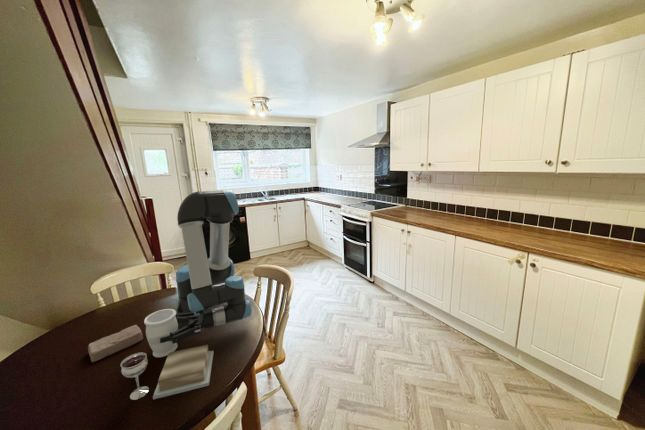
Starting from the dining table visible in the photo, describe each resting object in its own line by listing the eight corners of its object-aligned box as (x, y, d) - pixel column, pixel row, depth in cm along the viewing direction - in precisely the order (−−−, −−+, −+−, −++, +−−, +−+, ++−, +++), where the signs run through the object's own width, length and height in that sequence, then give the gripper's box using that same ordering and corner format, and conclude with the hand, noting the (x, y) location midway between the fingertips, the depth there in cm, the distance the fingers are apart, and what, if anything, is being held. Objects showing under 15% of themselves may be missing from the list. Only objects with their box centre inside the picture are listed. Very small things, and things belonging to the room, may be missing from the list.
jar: (170, 338, 107) (165, 306, 105) (186, 345, 103) (181, 311, 100) (143, 355, 98) (137, 320, 95) (160, 363, 93) (154, 327, 91)
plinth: (170, 362, 93) (169, 352, 92) (208, 354, 96) (207, 344, 96) (159, 391, 80) (158, 380, 80) (204, 380, 84) (203, 370, 84)
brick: (92, 363, 94) (90, 352, 93) (88, 353, 100) (86, 343, 99) (144, 341, 107) (142, 330, 106) (138, 333, 112) (136, 323, 111)
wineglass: (126, 390, 82) (120, 358, 80) (151, 380, 86) (146, 349, 84) (125, 406, 77) (119, 372, 74) (152, 394, 80) (147, 361, 78)
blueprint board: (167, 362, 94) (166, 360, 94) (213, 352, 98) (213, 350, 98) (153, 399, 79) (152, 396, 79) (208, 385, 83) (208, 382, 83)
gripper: (217, 341, 98) (148, 361, 88) (212, 312, 118) (156, 326, 108) (215, 323, 97) (145, 342, 87) (210, 297, 117) (153, 310, 107)
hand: (151, 333), depth 97 cm, fingers closed on jar, 10 cm apart
